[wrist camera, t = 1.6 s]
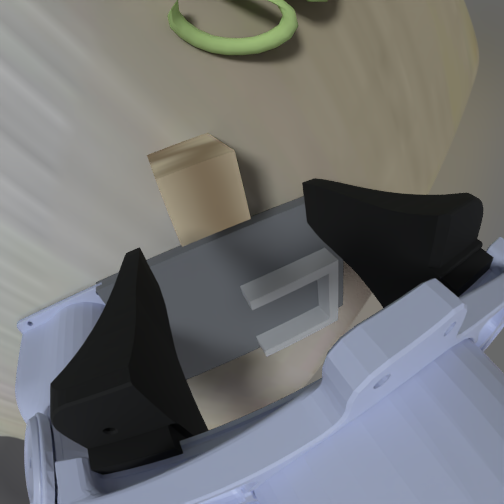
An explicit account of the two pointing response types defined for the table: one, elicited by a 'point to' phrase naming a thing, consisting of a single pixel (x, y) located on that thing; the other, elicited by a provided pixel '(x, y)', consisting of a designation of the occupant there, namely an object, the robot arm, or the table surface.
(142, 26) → the table surface
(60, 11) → the table surface
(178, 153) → the connector block
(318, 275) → the holder board
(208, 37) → the figurine
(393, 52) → the table surface
